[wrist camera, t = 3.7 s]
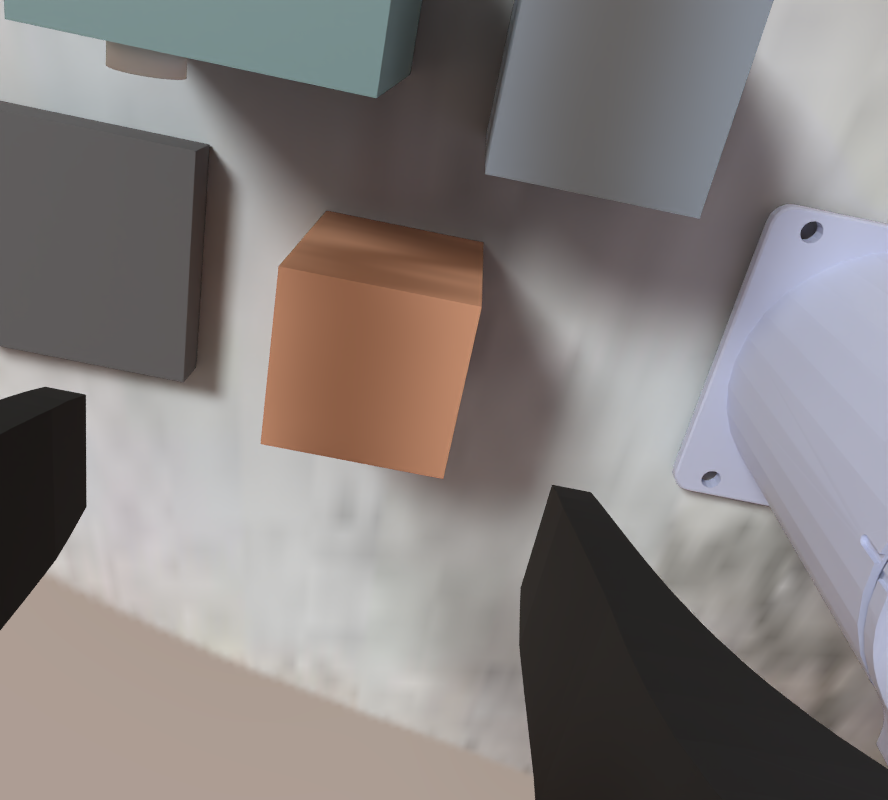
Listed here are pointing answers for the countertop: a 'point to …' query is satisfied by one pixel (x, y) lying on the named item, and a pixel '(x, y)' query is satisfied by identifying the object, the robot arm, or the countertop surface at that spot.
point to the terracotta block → (372, 343)
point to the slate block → (622, 96)
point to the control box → (245, 36)
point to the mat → (100, 242)
